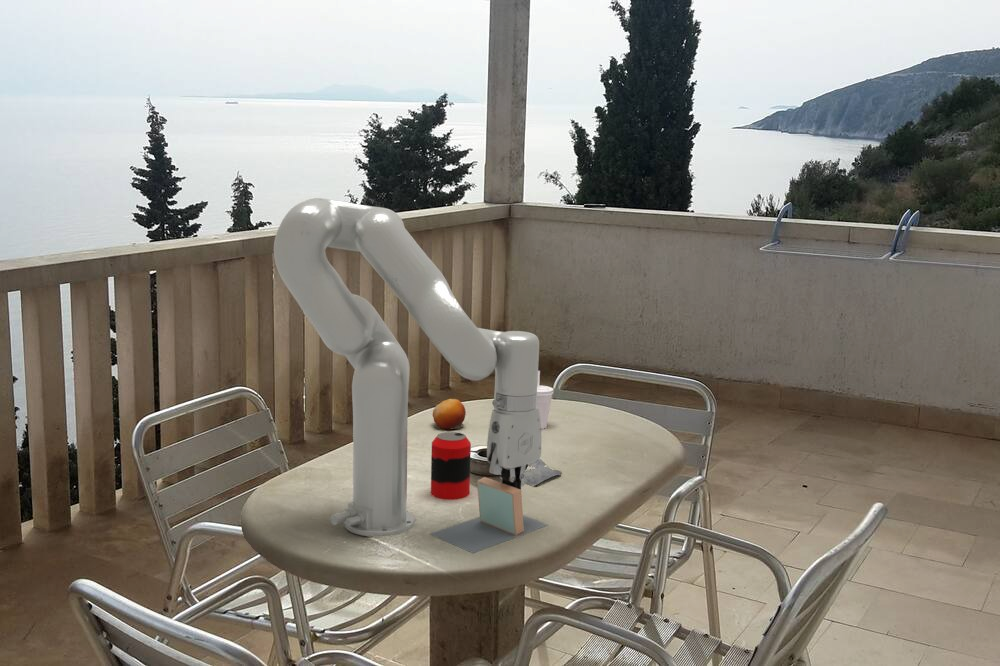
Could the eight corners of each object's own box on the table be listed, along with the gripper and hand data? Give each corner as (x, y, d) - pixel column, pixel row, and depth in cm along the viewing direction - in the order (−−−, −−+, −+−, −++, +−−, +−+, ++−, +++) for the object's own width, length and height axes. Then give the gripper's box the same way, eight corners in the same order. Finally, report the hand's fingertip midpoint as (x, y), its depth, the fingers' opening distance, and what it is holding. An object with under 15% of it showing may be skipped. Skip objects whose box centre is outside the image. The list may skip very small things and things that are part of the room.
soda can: (477, 496, 197) (479, 437, 195) (448, 504, 192) (450, 444, 190) (451, 486, 203) (452, 428, 200) (422, 494, 197) (423, 435, 195)
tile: (515, 535, 177) (513, 493, 175) (480, 521, 183) (476, 480, 181) (523, 531, 178) (521, 489, 176) (487, 516, 185) (484, 476, 182)
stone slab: (533, 457, 220) (572, 464, 214) (533, 465, 220) (572, 472, 214) (483, 480, 205) (523, 489, 199) (483, 489, 206) (524, 497, 200)
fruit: (472, 426, 240) (455, 398, 238) (443, 442, 240) (426, 413, 239) (473, 417, 248) (457, 389, 246) (446, 432, 248) (429, 405, 247)
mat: (472, 555, 169) (473, 553, 169) (429, 536, 177) (429, 533, 176) (548, 527, 182) (548, 524, 182) (504, 510, 190) (504, 508, 190)
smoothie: (527, 422, 250) (529, 367, 247) (553, 424, 249) (555, 369, 246) (524, 429, 244) (526, 373, 241) (550, 431, 243) (553, 374, 240)
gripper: (501, 412, 170) (497, 515, 174) (558, 399, 181) (553, 496, 185) (470, 403, 176) (466, 503, 179) (528, 390, 186) (523, 485, 190)
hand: (510, 499), depth 182 cm, fingers closed
